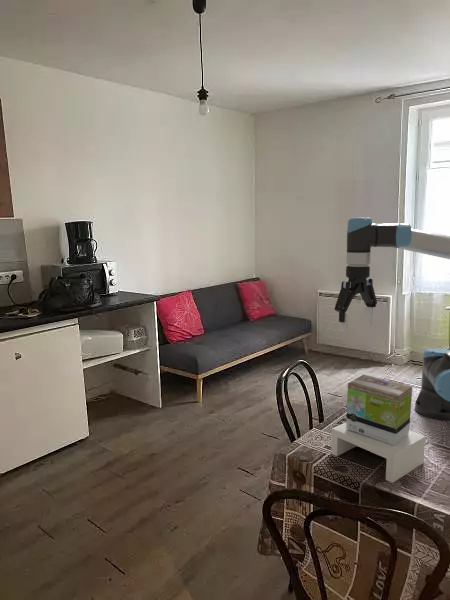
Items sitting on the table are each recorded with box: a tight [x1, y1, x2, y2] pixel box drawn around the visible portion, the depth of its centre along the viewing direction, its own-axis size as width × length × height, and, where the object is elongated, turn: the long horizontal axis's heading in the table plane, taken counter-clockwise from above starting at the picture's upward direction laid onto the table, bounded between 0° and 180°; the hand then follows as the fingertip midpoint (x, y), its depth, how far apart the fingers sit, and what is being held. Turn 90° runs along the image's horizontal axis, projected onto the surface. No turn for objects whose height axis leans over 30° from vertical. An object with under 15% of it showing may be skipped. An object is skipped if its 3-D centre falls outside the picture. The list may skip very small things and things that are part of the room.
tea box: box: [345, 374, 413, 446], centre depth 128 cm, size 15×10×15 cm
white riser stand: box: [330, 421, 426, 484], centre depth 130 cm, size 16×20×8 cm
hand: (355, 328), depth 151 cm, fingers open, 13 cm apart
